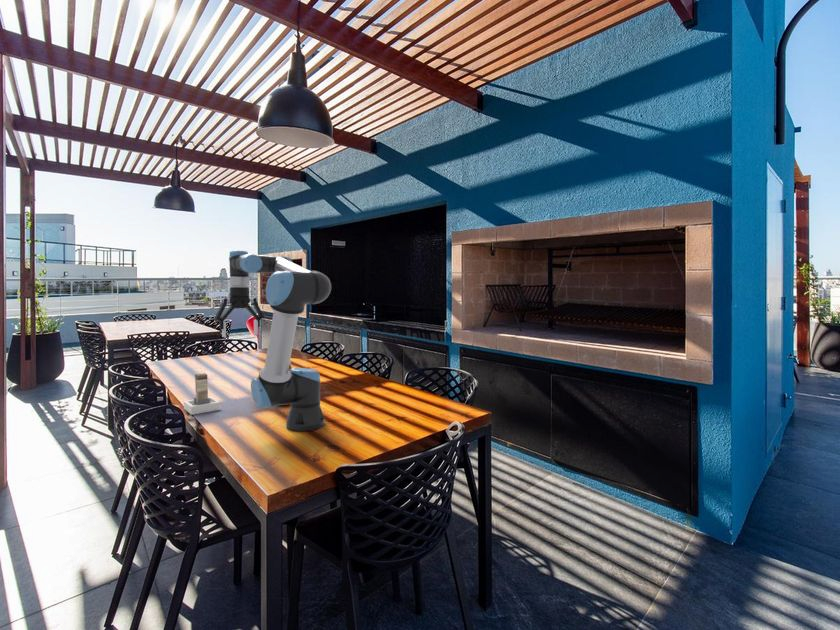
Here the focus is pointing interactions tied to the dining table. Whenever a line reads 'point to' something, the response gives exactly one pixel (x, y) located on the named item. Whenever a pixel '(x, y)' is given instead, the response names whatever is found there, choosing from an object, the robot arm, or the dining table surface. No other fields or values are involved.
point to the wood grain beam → (201, 387)
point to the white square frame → (201, 405)
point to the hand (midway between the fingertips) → (240, 335)
